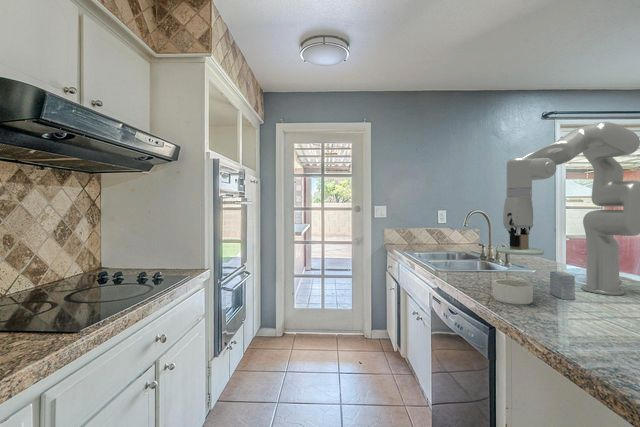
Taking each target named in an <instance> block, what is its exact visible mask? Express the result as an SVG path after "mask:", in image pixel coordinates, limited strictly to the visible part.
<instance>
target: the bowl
mask: <svg viewBox="0 0 640 427" xmlns="http://www.w3.org/2000/svg"><path fill="white" fill-rule="evenodd" d="M533 289H534V284H533V283H531V282H528V281H524V280H520V279H518V280H517V279H510V278H509V279H508V278H504V279H503V278H500V279H493V281H492V298H493V300H495V301H497V302H500V303H503V304H504V303H505V304H509V305H517V306H519V305H520V306H525V305H531V304H533V302H534V301H533V299H534V298H533V297H534V293H533V292H534V290H533Z"/></svg>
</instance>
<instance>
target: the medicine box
mask: <svg viewBox="0 0 640 427" xmlns="http://www.w3.org/2000/svg"><path fill="white" fill-rule="evenodd" d="M575 277H576V276H575V275H574V274H571V273H568V272H565V271H549V282H550V284H549V286H550V287H549V289H550V290H549V292H550V293H549V294H551V295H553V296H555V297H557V298H559V299H561V300H568V301H569V300H572V301H575V300H576V285H575V284H576V283H575V282H576V281H575V279H576V278H575Z"/></svg>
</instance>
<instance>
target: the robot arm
mask: <svg viewBox="0 0 640 427" xmlns="http://www.w3.org/2000/svg"><path fill="white" fill-rule="evenodd" d="M639 147H640V138H639V136H638V134H637V133H636V132H634V131H633V130H631V129H628V128H626V127H623V126H621V125H619V124H617V123H613V122H609V121H600V122H596V123H593V124H589V125H584V126H580V127H577V128H574V129H573V130H571V131H570V132H568V133H567V134H565V135H564V136H563V137H561V138H560V139H558V140H557V141H555V142H552V143H550V144H548V145H546V146H544V147H541V148H539V149H537V150H534V151H532V152H530V153H527V154H526V155H524V156H523V157H517V158H512V159H508V160H507V162H506V198H505V200H504V205H503V215H502V224H503V227H504V228H505V229H506V231H507V232H508V235H509V247H510V246H512V247H519V246H520V235H518V234H522V235H529V236H530V231H531V229H532V228H533V227H534V224H533V223H534V207H533V200H532V197H533V189H532V188H533V181H539V180H540V181H542V180H546V179H549V178H551V177H553V176H554V175H555V174H556V171H557V166H558V165H562V164H566V163H567V162H568V163H569V162H570V161H572V160H573V159H575V158H576V157H577V156H579V155H580V154H582V155H583V156H584V157H585V159H587V161H588V162H589V163H590V165H591V168H592V169H593V181H592V188H591V202H592V204H593V205H595V206H597V207H606V208H611V207H615V208H616V207H617V208H618V207H621V208H622V209H597V210H595V209H594V210H591V211H589V212H587V213H586V214H585V215H584V216H583V219H582V224H583V228H584V232H585V240H586V242H585V243H586V244H585V245H586V252H585V253H586V254H585V255H586V284H583V285H581V290H583V291H585V292H589V293H594V294H599V295H600V294H601V295H609V296H610V295H611V296H624V295H625V294H626V290H625V289H622V288H620V286H621V285H622V284H623V281H622V280H620V246H619V243H618V241H617V240H616V238H615V237H614V236H621V237H623V236H624V237H634V236H635V237H636V236H639V235H640V181H639V180H624V168H623V166H622V165H621V164H620V162H619V161H618V160H616V159H615V157H616V158H617V157H622V156H629V155H632V154H634V153H635V152H637V150H639Z"/></svg>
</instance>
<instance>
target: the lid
mask: <svg viewBox="0 0 640 427" xmlns="http://www.w3.org/2000/svg"><path fill="white" fill-rule="evenodd" d="M518 235H520V246H519V247H512V246H510V245H509V246H499V247H498V246H497V247H496V248H495V249H496V250H495V251H496V253H500V254H507V255H515V256H516V255H517V256H543V255H545V252H544V251H545V250H544V249H541V248H535V247H530V245H529V241H530V239H529V238H530V237H529V236H530V234H529V235H522V234H520V233H518Z"/></svg>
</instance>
